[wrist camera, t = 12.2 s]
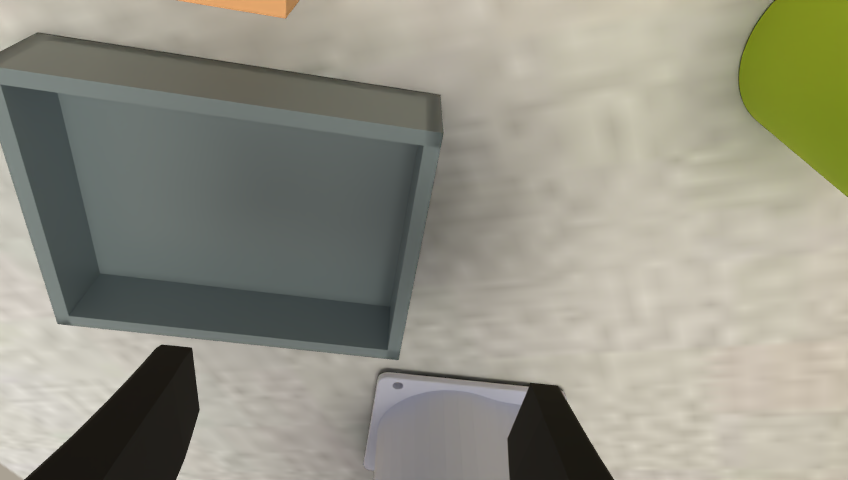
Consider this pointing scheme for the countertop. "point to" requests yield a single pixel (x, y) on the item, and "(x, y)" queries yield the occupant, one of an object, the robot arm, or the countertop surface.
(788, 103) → the soap dispenser
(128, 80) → the bin
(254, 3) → the letter cube
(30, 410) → the countertop surface
